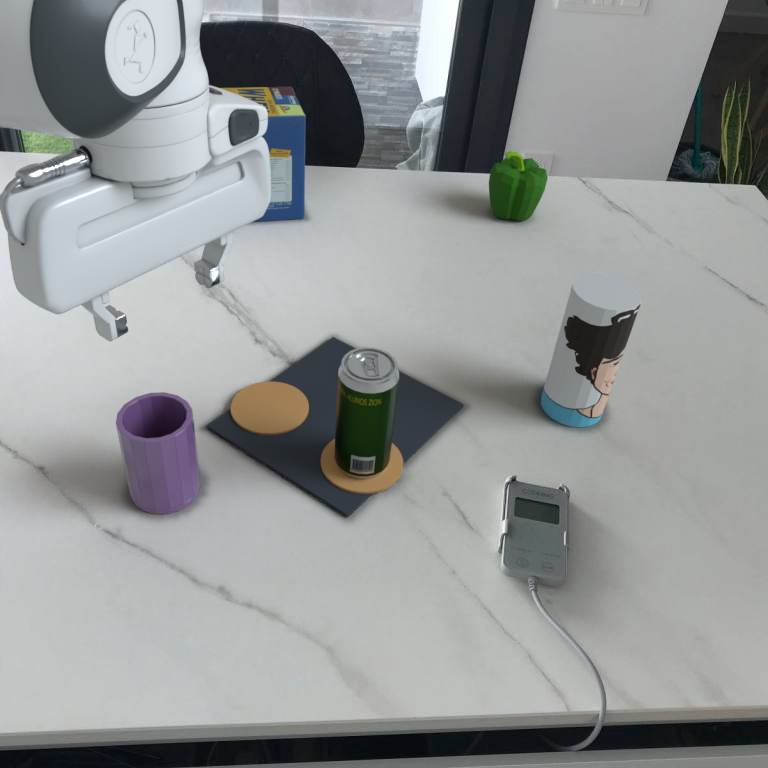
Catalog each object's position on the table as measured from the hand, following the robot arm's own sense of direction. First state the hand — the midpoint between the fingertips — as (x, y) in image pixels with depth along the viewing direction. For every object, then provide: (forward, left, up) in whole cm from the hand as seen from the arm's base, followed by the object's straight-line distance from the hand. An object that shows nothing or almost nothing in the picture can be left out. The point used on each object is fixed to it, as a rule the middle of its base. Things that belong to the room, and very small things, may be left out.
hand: (164, 307), depth 59 cm
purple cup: (-1, +1, -20) cm, 20 cm away
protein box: (+44, +34, -20) cm, 59 cm away
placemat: (+17, -5, -20) cm, 27 cm away
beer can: (+13, -11, -20) cm, 26 cm away
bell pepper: (+70, +4, -20) cm, 73 cm away
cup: (+35, -23, -20) cm, 46 cm away
